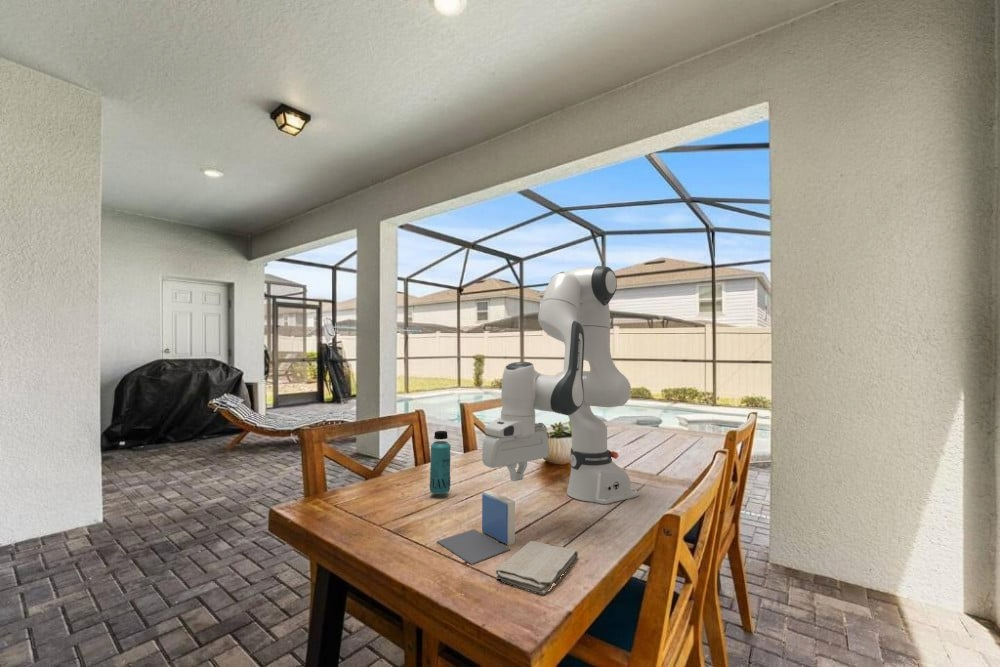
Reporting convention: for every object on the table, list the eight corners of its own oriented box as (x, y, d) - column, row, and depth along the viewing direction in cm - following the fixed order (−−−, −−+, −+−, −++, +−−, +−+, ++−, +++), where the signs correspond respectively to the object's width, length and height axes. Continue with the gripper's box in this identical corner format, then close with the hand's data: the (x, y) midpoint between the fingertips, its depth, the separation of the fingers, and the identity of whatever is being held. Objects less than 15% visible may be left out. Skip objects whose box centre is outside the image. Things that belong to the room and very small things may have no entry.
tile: (488, 529, 114) (489, 490, 114) (514, 543, 106) (515, 501, 106) (481, 532, 112) (481, 492, 112) (506, 546, 104) (507, 503, 105)
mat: (473, 530, 113) (474, 529, 113) (510, 550, 102) (510, 548, 102) (436, 542, 106) (436, 541, 106) (471, 565, 95) (471, 563, 95)
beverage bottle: (425, 497, 137) (426, 432, 137) (436, 490, 143) (437, 428, 143) (444, 500, 134) (444, 434, 135) (454, 493, 141) (454, 430, 141)
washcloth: (492, 583, 89) (492, 568, 89) (530, 548, 105) (530, 534, 105) (547, 600, 83) (547, 583, 83) (578, 560, 99) (578, 546, 99)
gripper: (538, 420, 123) (537, 471, 122) (479, 427, 110) (477, 483, 109) (554, 423, 118) (554, 476, 117) (495, 431, 105) (494, 490, 104)
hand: (516, 480), depth 113 cm, fingers closed
